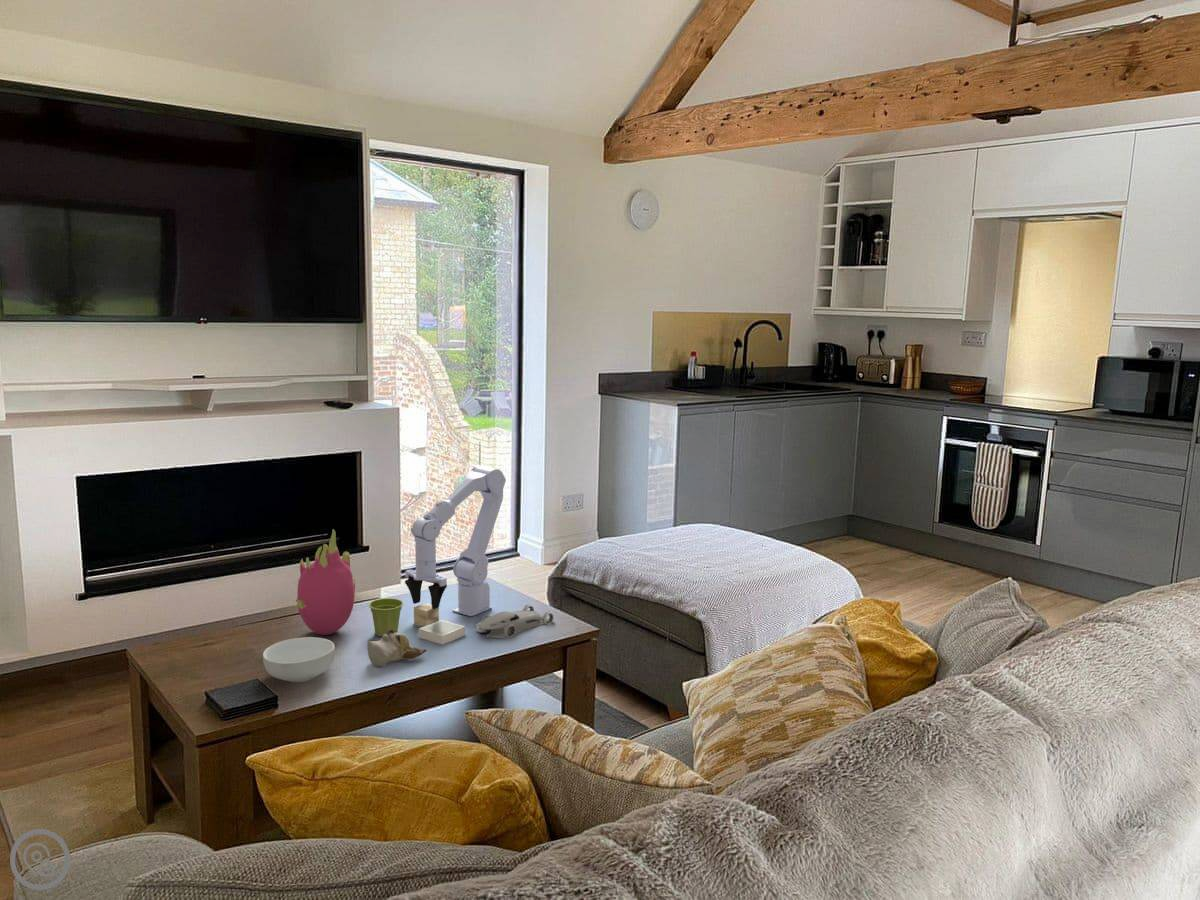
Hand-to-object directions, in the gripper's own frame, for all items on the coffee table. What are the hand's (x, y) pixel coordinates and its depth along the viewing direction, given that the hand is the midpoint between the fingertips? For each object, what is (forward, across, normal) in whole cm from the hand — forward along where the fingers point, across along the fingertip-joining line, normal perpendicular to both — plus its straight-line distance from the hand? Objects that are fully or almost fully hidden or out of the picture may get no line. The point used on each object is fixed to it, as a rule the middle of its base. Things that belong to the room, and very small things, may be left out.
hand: (425, 605), depth 259 cm
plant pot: (+6, -3, -12) cm, 14 cm away
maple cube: (+6, 0, 0) cm, 6 cm away
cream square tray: (+5, +11, -5) cm, 13 cm away
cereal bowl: (+6, +2, -45) cm, 46 cm away
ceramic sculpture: (+6, +13, -25) cm, 29 cm away
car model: (+6, +22, +13) cm, 26 cm away
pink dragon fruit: (+6, -16, -22) cm, 28 cm away
